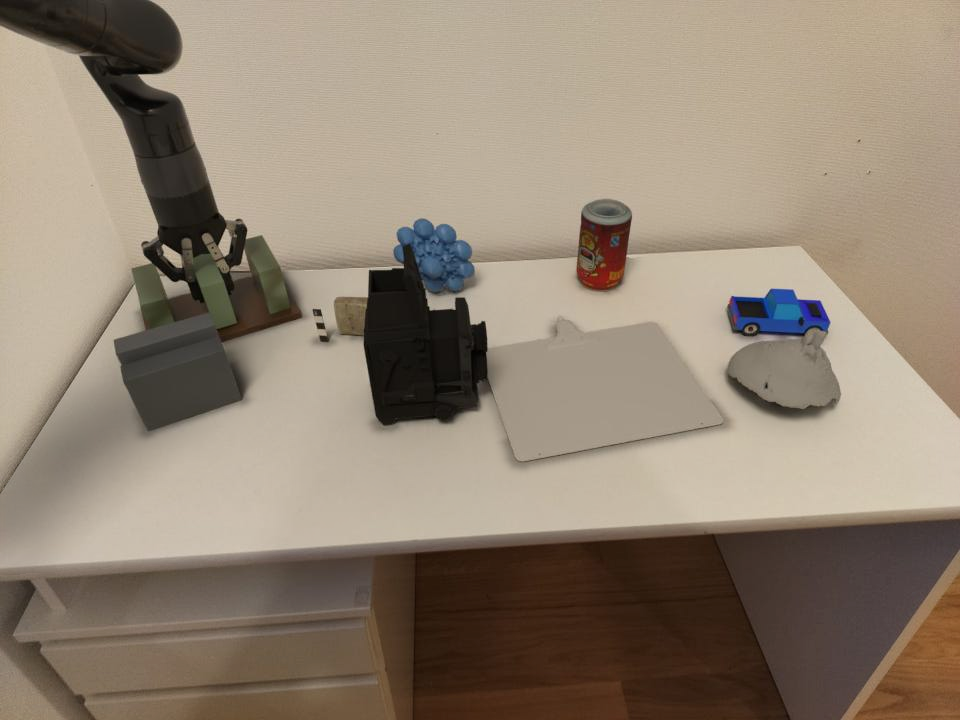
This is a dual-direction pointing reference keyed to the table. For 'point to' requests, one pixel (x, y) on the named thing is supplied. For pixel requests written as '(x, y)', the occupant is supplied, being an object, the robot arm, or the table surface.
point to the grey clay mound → (788, 371)
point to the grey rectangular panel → (594, 390)
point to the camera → (419, 348)
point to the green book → (214, 291)
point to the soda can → (603, 244)
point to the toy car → (777, 313)
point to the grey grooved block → (176, 371)
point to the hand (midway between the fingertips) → (215, 295)
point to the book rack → (251, 299)
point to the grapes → (436, 254)
